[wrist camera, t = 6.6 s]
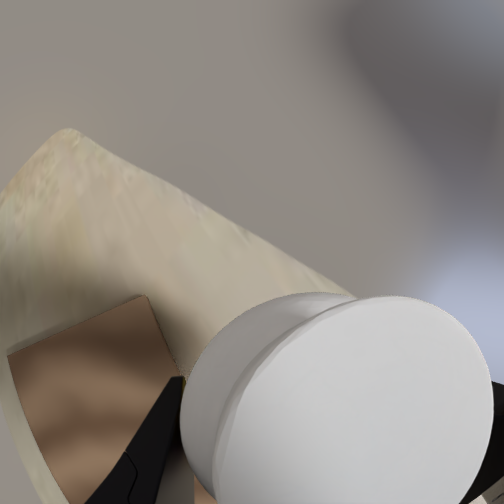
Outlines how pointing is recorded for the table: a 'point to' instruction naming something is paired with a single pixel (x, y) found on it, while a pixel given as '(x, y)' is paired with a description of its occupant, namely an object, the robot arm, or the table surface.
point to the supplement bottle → (338, 404)
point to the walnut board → (94, 393)
